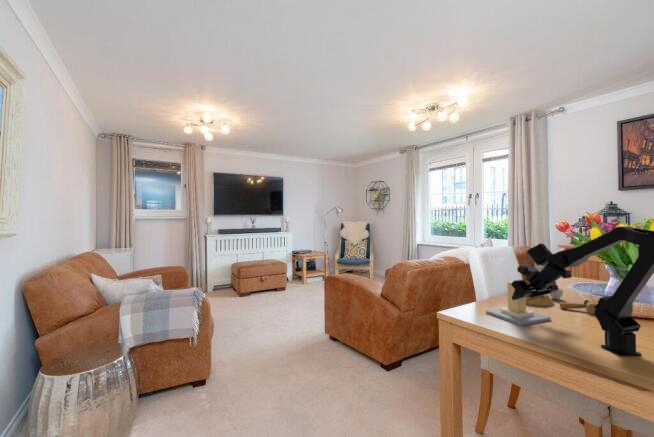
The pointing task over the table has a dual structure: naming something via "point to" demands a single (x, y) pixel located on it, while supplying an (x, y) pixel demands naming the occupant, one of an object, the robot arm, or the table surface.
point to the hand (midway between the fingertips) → (521, 297)
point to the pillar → (515, 301)
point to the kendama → (579, 306)
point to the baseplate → (518, 316)
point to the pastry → (540, 300)
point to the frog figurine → (557, 294)
